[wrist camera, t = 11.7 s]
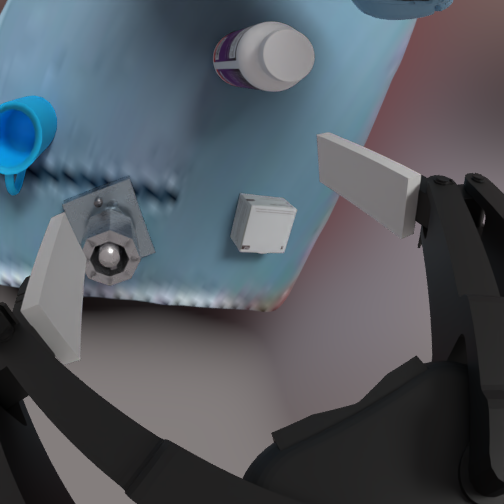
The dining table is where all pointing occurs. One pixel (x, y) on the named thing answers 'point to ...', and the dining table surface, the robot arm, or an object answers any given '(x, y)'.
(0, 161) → the mug
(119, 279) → the tube
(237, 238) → the small box
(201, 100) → the dining table surface
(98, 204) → the block
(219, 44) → the pill bottle
